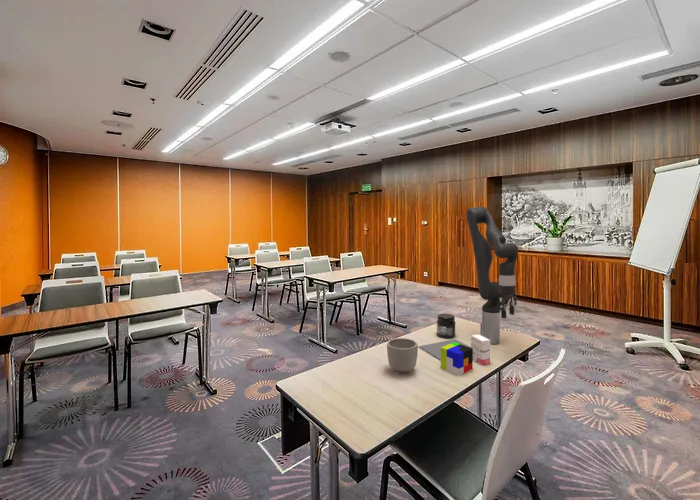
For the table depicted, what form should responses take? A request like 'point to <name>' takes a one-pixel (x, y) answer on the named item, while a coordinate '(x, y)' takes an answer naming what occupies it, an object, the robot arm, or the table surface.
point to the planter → (402, 354)
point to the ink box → (480, 349)
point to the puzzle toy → (456, 358)
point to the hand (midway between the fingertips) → (507, 316)
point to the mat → (438, 347)
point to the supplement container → (446, 325)
